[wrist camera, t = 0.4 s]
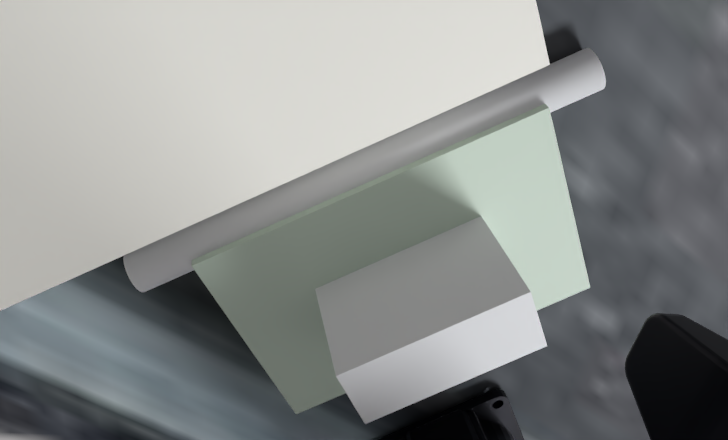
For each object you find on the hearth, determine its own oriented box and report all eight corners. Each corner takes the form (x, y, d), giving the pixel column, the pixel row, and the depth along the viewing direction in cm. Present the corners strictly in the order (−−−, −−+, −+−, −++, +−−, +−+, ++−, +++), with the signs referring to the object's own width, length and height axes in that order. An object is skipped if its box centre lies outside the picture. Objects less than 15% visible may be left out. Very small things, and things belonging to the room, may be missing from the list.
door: (612, 235, 27) (707, 339, 22) (244, 395, 27) (255, 531, 22) (575, 38, 22) (686, 115, 17) (126, 239, 22) (107, 370, 17)
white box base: (493, 17, 20) (591, 98, 15) (-43, 259, 21) (-117, 413, 16) (364, -467, 14) (460, -601, 9) (-396, -99, 15) (-704, -31, 10)
